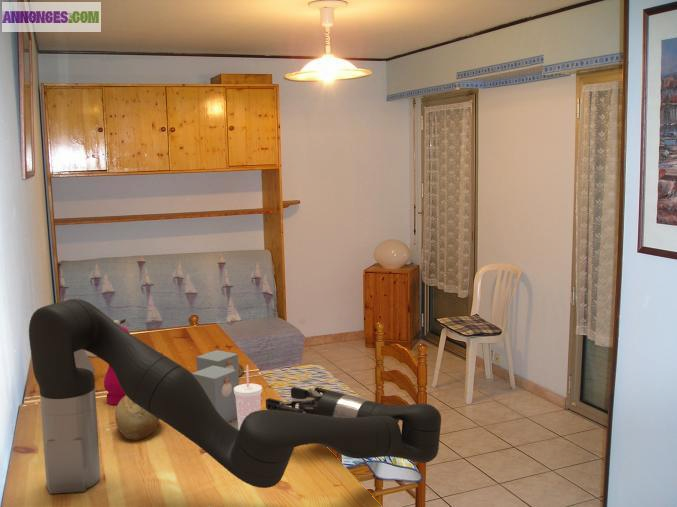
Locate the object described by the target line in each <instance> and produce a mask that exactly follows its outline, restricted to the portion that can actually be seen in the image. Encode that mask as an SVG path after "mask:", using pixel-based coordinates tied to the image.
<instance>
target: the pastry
mask: <svg viewBox="0 0 677 507" xmlns="http://www.w3.org/2000/svg"><path fill="white" fill-rule="evenodd" d="M238 366H239V377H240V376H242V375H243V373H244V372H245V367H243V364H242V363H241V362H240V361H239V360H238Z"/></svg>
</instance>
